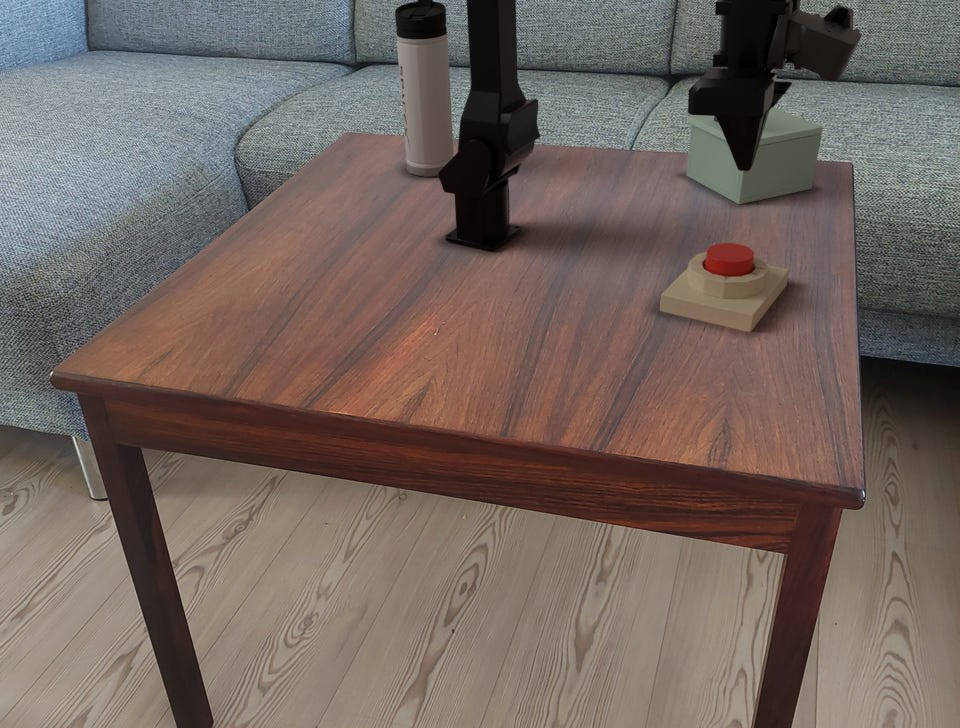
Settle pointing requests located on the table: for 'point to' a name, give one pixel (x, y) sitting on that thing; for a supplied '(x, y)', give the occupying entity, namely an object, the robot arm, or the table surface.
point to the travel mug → (425, 86)
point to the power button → (729, 260)
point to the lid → (775, 130)
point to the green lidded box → (753, 167)
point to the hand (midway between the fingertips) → (744, 169)
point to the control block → (724, 294)
